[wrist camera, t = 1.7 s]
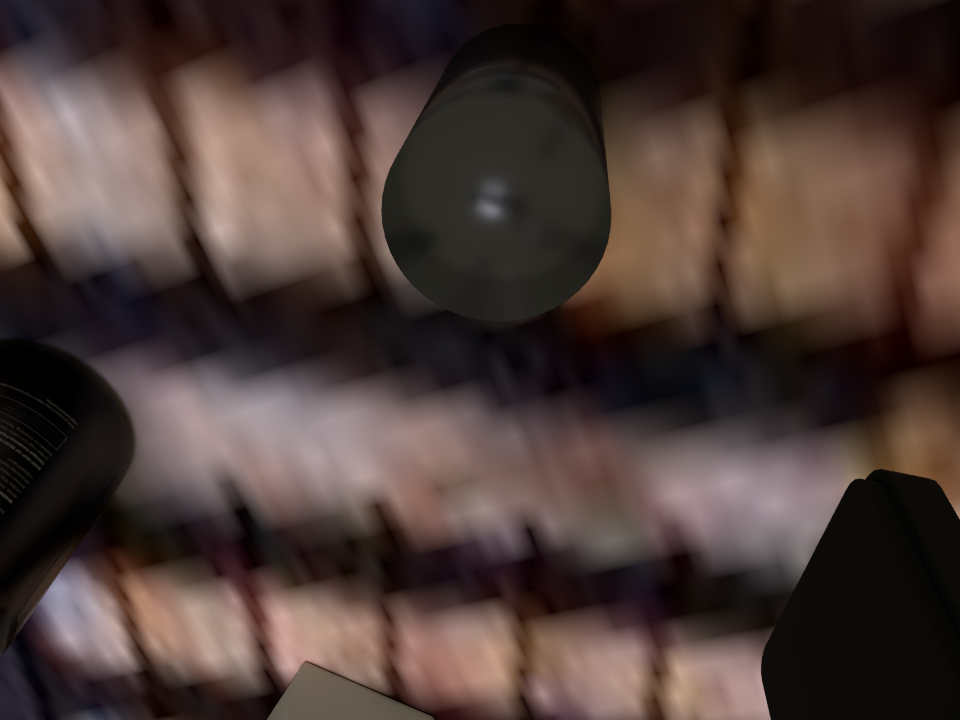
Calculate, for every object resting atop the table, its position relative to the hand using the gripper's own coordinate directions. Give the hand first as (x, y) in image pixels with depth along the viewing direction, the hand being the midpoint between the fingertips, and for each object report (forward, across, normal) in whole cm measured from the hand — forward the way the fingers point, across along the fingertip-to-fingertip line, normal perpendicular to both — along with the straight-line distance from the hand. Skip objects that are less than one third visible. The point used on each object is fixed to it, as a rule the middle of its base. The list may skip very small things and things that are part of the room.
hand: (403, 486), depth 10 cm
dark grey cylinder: (+16, -1, 0) cm, 17 cm away
